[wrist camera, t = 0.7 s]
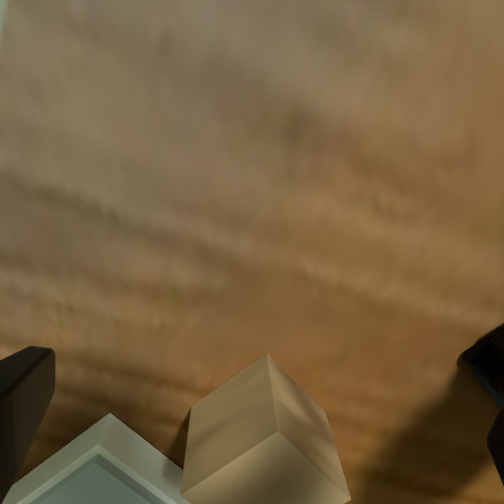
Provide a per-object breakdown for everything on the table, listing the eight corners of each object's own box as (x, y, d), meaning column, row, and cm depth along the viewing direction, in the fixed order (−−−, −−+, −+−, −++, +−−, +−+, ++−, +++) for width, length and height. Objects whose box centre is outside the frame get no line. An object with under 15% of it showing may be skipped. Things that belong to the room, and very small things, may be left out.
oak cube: (324, 411, 26) (351, 499, 20) (252, 458, 27) (258, 554, 21) (266, 352, 24) (277, 431, 18) (191, 405, 25) (180, 495, 19)
